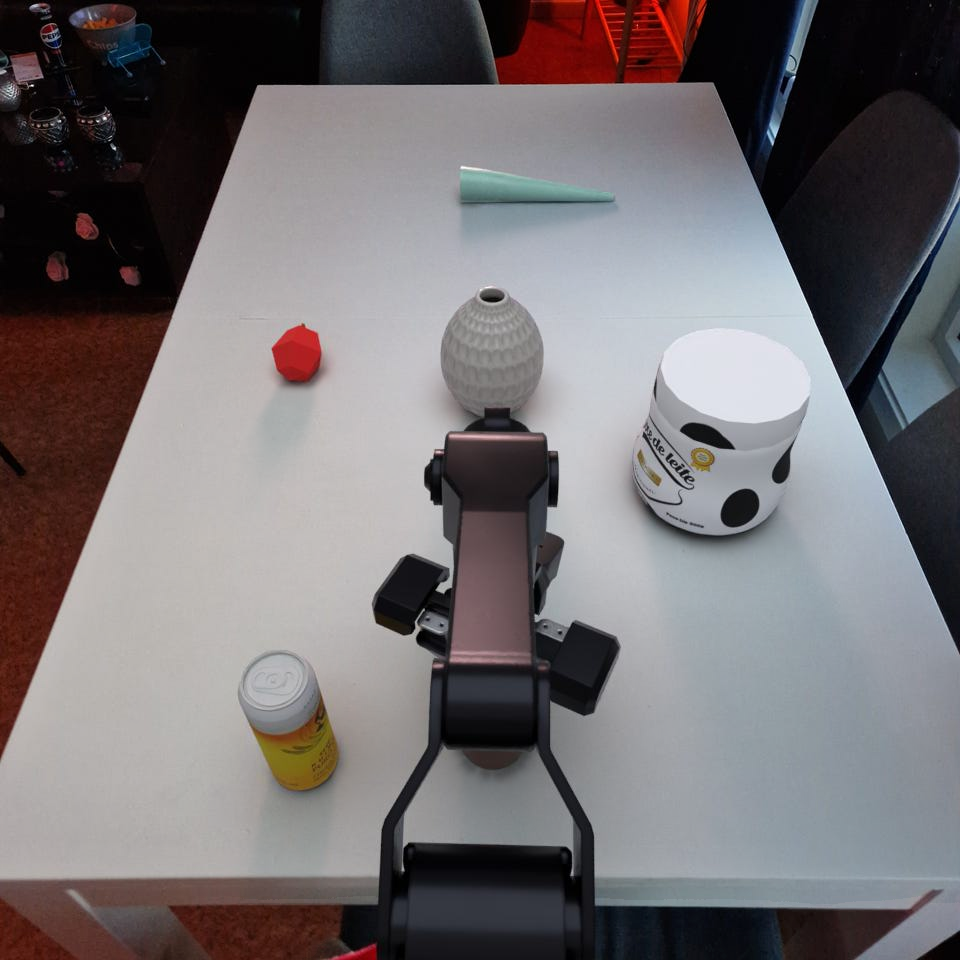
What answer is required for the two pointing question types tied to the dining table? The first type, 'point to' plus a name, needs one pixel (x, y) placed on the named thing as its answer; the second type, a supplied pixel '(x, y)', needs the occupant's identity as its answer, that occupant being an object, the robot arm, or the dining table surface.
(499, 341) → the vase
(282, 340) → the apple
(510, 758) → the bottle
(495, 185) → the long green cone
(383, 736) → the dining table surface
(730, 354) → the milk container
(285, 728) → the beer can
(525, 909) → the robot arm
